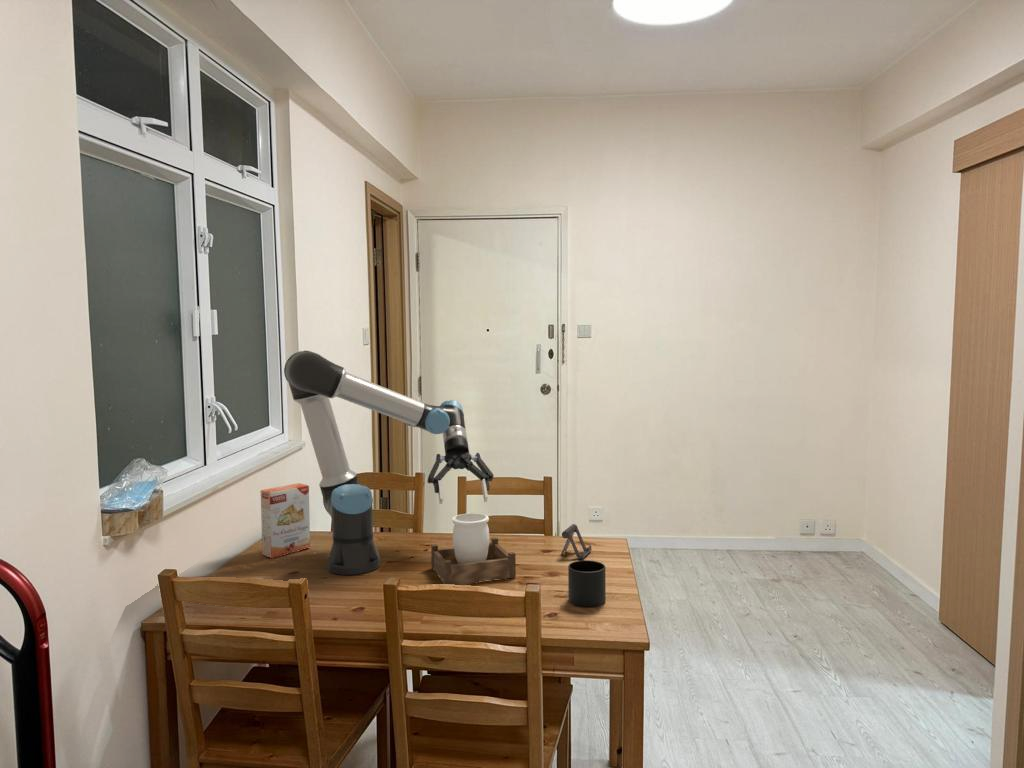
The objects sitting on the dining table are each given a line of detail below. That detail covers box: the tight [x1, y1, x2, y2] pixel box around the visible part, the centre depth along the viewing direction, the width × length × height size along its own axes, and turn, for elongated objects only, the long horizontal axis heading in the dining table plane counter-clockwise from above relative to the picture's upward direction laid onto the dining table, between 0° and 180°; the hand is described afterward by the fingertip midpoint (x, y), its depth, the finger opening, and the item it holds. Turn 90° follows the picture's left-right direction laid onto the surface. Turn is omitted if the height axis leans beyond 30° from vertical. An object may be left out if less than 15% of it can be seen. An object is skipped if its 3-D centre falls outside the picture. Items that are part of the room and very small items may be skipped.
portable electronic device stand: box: [560, 523, 592, 561], centre depth 223 cm, size 9×8×8 cm
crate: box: [430, 537, 517, 586], centre depth 207 cm, size 20×17×7 cm
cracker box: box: [260, 482, 311, 559], centre depth 228 cm, size 14×6×21 cm, turn 139°
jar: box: [452, 512, 490, 564], centre depth 207 cm, size 11×10×15 cm
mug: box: [567, 559, 607, 608], centre depth 187 cm, size 9×12×9 cm
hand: (463, 500), depth 217 cm, fingers open, 13 cm apart
